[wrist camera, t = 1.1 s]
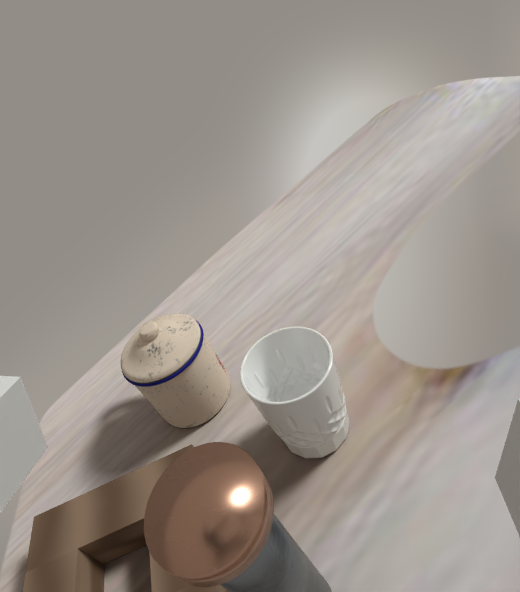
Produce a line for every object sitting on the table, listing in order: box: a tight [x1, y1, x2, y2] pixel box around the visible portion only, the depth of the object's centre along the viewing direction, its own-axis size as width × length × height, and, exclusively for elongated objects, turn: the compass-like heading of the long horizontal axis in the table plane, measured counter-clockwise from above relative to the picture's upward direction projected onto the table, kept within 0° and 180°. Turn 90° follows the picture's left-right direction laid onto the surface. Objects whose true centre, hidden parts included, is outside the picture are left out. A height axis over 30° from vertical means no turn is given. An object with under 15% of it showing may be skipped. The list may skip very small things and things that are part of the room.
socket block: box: [23, 445, 229, 592], centre depth 35 cm, size 16×16×4 cm
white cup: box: [240, 327, 350, 458], centre depth 38 cm, size 8×8×10 cm
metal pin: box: [144, 442, 332, 592], centre depth 26 cm, size 6×6×18 cm
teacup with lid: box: [121, 314, 230, 428], centre depth 46 cm, size 12×9×12 cm
